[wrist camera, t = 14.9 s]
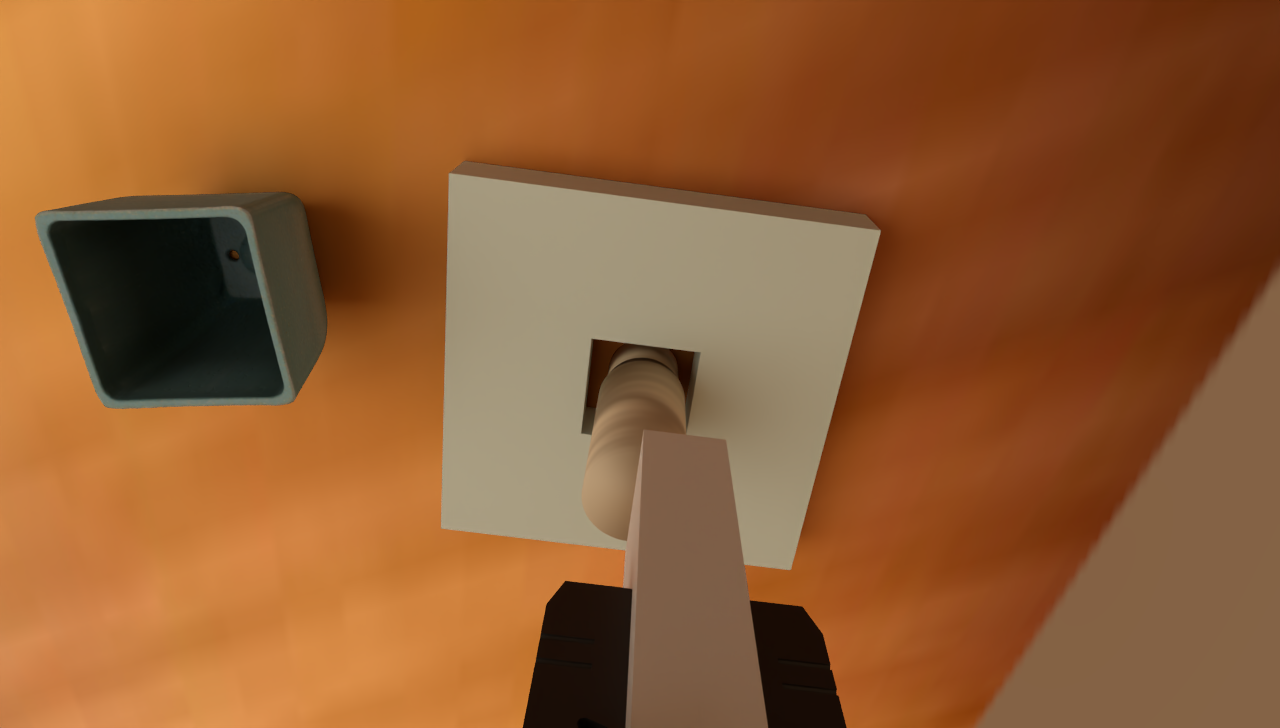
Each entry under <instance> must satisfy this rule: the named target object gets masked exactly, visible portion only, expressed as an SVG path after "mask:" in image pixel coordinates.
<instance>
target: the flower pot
mask: <svg viewBox="0 0 1280 728" xmlns="http://www.w3.org/2000/svg"><path fill="white" fill-rule="evenodd" d="M35 221H36V228H37V232H38V235H39V239H40V241H41V244H42V247H43V249H44V252H45V254H46V257H47V260H48V262H49V265H50V267H51V270H52V273H53V275H54V277H55V280H56V282H57V286H58V288H59V290H60V293H61V295H62V298H63V301H64V304H65V307H66V309H67V312H68V314H69V317H70V320H71V322H72V325H73V328H74V331H75V335H76V337H77V339H78V343H79V346H80V349H81V353H82V355H83V358H84V360H85V364H86V367H87V369H88V372H89V375H90V378H91V380H92V383H93V386H94V388H95V392H96V393H97V395H98V397H99V399H100V400H101V402H102V403H103V404H104V406H105V407H107V408H116V409H127V408H157V407H179V406H224V405H285V404H289V403H291V402H293V401H294V400H295V398H296V396H297V395H298V393H299V391H300V389H301V388H302V386H303V384H304V383H305V381H306V379H307V377H308V376H309V374H310V372H311V370H312V369H313V367H314V365H315V363H316V362H317V360H318V358H319V356H320V354H321V352H322V349H323V347H324V344H325V339H326V334H327V313H326V306H325V300H324V295H323V291H322V287H321V283H320V278H319V274H318V269H317V264H316V260H315V255H314V250H313V245H312V241H311V236H310V231H309V227H308V221H307V216H306V212H305V208H304V205H303V203H302V202H301V200H300V199H299V198H298V197H297V196H295V195H293V194H291V193H286V192H263V193H233V194H199V195H155V196H129V197H120V198H114V199H109V200H103V201H97V202H91V203H86V204H80V205H75V206H69V207H64V208H59V209H54V210H48V211H43V212H40V213H38V214H37V215H36V216H35ZM231 250H234V251H236V252H237V253H238V255H239V259H237V260H234V259H232V258H231V257H230V255H229V253H230V251H231Z"/></svg>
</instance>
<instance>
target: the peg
mask: <svg viewBox="0 0 1280 728" xmlns="http://www.w3.org/2000/svg"><path fill="white" fill-rule="evenodd" d="M643 430H652V431H660V432H668V433H676V434H684V435H686V415H685V395H684V390H683V387H682V385H681V383H680V381H679V380H678V365H677V361H676V359H675V357H674V355H673V353H672V352H671V351H670V350H669V349H668V348H661V347H653V346H646V345H638V344H630V343H625V344H624V345H622V346H621V347H620V348H618V349H617V351H616V352H615V353H614V354H613V356H612V358H611V361H610V365H609V371H608V375H607V376H606V378H605V379H604V381H603V383H602V384H601V387H600V390H599V396H598V402H597V407H596V413H595V419H594V424H593V430H592V436H591V441H590V447H589V453H588V459H587V464H586V470H585V476H584V481H583V487H582V497H581V498H582V505H583V508H584V511H585V513H586V515H587V517H588V518H589V520H590V521H591V522H592V523H593V525H595V526H596V527H597V528H598V529H599V530H600V531H602V532H603V533H605V534H607V535H609V536H611V537H613V538H616V539H619V540H623V541H627V538H628V531H629V524H630V518H631V511H632V504H633V497H634V491H635V484H636V477H637V471H638V464H639V457H640V451H641V444H642V437H643Z"/></svg>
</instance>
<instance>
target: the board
mask: <svg viewBox="0 0 1280 728" xmlns="http://www.w3.org/2000/svg"><path fill="white" fill-rule="evenodd" d="M880 233H881V230H880V229H879V228H878V227H877V226H876V225H875V224H874V223H873V222H872V221H871V220H870V219H869V218H868V217H867V216H866V215H865V214H858V213H850V212H843V211H835V210H828V209H820V208H813V207H805V206H798V205H790V204H783V203H775V202H768V201H760V200H753V199H745V198H738V197H730V196H723V195H716V194H708V193H701V192H693V191H686V190H678V189H671V188H663V187H656V186H648V185H641V184H633V183H626V182H618V181H611V180H603V179H596V178H588V177H581V176H573V175H566V174H559V173H551V172H544V171H536V170H529V169H521V168H514V167H506V166H499V165H491V164H484V163H476V162H469V161H464V162H462V163H461V164H460V165H459V166H457V167H456V168H455V169H454V170H452V171H451V172H450V173H449V197H448V242H447V287H446V331H445V376H444V421H443V465H442V510H441V528H442V529H450V530H459V531H467V532H476V533H484V534H492V535H501V536H509V537H518V538H526V539H534V540H543V541H551V542H559V543H568V544H576V545H585V546H593V547H601V548H610V549H618V550H626V544H627V541H623V540H619V539H616V538H613V537H611V536H609V535H607V534H605V533H603V532H602V531H600V530H599V529H598V528H597V527H596V526H595V525H593V523H592V522H591V521H590V520H589V518H588V517H587V515H586V513H585V511H584V508H583V505H582V498H581V497H582V487H583V481H584V476H585V470H586V464H587V459H588V453H589V447H590V441H591V436H592V430H593V424H594V419H595V413H596V408H592V407H586V403H587V394H588V385H589V376H590V367H591V358H592V349H593V340H594V339H598V340H606V341H614V342H622V343H630V344H638V345H646V346H653V347H661V348H669V349H677V350H685V351H693V352H694V358H693V364H692V369H691V375H690V381H689V387H688V392H687V398H686V404H685V415H686V435H692V436H700V437H708V438H716V439H724V440H726V443H727V450H728V456H729V463H730V470H731V477H732V484H733V491H734V498H735V504H736V511H737V518H738V525H739V532H740V539H741V545H742V552H743V559H744V565H752V566H761V567H769V568H778V569H786V570H791V567H792V563H793V560H794V556H795V552H796V548H797V545H798V541H799V537H800V533H801V530H802V526H803V522H804V518H805V515H806V511H807V507H808V503H809V500H810V496H811V492H812V488H813V484H814V481H815V477H816V473H817V469H818V466H819V462H820V458H821V454H822V451H823V447H824V443H825V439H826V436H827V432H828V428H829V424H830V421H831V417H832V413H833V409H834V406H835V402H836V398H837V394H838V390H839V387H840V383H841V379H842V375H843V372H844V368H845V364H846V360H847V357H848V353H849V349H850V345H851V342H852V338H853V334H854V330H855V327H856V323H857V319H858V315H859V312H860V308H861V304H862V300H863V297H864V293H865V289H866V285H867V281H868V278H869V274H870V270H871V266H872V263H873V259H874V255H875V251H876V248H877V244H878V240H879V236H880Z"/></svg>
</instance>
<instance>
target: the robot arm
mask: <svg viewBox="0 0 1280 728" xmlns="http://www.w3.org/2000/svg"><path fill="white" fill-rule="evenodd" d="M836 690H837V688H836V685H835V681H834V677H833V673H832V670H830V661H829V657H828V653H827V649H826V645H825V641H824V637H823V634H822V633H821V631H820V630H819V629H818V627H817V626H816V624H815V623H814V622H813V620H812V619H811V618H810V616H809V615H808V614H807V612H806V611H805V610H804V608H803V607H801V606H792V605H784V604H775V603H767V602H758V601H750V600H749V593H748V586H747V580H746V573H745V566H744V559H743V552H742V545H741V539H740V532H739V525H738V518H737V511H736V504H735V498H734V491H733V484H732V477H731V470H730V463H729V456H728V450H727V443H726V440H724V439H716V438H708V437H700V436H692V435H684V434H676V433H668V432H660V431H652V430H643V437H642V444H641V451H640V457H639V464H638V471H637V477H636V484H635V491H634V497H633V504H632V511H631V518H630V524H629V531H628V538H627V544H626V552H625V567H624V582H623V588H621V587H612V586H604V585H595V584H587V583H578V582H570V581H565V582H564V583H563V585H562V586H561V587H560V588H559V590H558V591H557V592H556V593H555V594H554V596H553V597H552V598H551V599H550V601H549V602H548V603H547V605H546V610H545V615H544V620H543V625H542V631H541V637H540V641H539V646H538V652H537V657H536V663H535V667H534V672H533V678H532V683H531V688H530V693H529V698H528V704H527V709H526V714H525V719H524V725H523V728H846V724H845V720H844V716H843V712H842V708H841V704H840V700H839V696H837V695H836Z"/></svg>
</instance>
